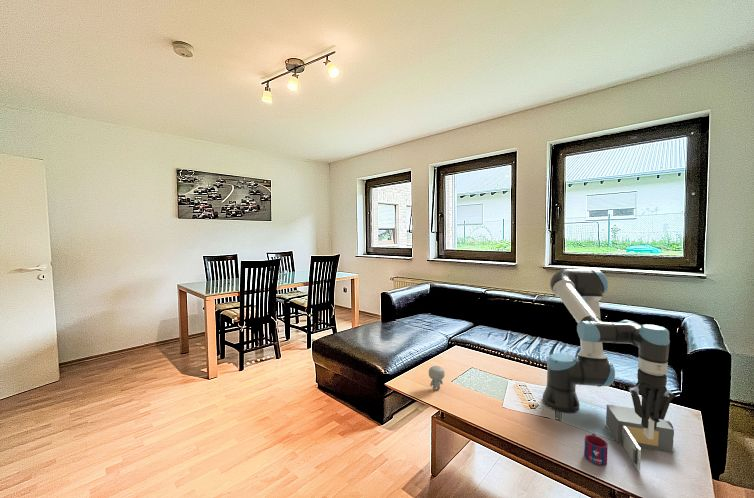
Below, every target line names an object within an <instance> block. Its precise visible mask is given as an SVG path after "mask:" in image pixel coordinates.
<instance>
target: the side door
mask: <svg viewBox="0 0 754 498" xmlns="http://www.w3.org/2000/svg"><path fill="white" fill-rule="evenodd" d="M621 445H622V446H623V448H624V450H625V451H626V454H627V456H629V458H630V461H631V462H632V464H633V465H634V466H635V468H636V470H637V471H641V459H642V458H641V456H642V455H641V453H642V448H641V447H639V445H638V444H637V442H636V441H635V439H634V438H633V436H632V435H631V433H630V432H629V430H628V429H627V427H626V426H625V425H622V444H621Z"/></svg>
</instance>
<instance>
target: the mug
mask: <svg viewBox="0 0 754 498" xmlns="http://www.w3.org/2000/svg"><path fill="white" fill-rule="evenodd" d="M608 447H609V444H608V442H607V441H606V440H605V439H604V438H602V437H600V436H597V435H596V433H591V434H588V435H585V436H584V449H583V450H584V452H583V453H584V454H583V455H584V456H583V457H584V458H585V460H587V461H588V462H589V463H590V464H592V465H595V466H598V467H599V466H600V467H605V466H606V465H608Z"/></svg>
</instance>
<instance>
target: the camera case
mask: <svg viewBox="0 0 754 498" xmlns="http://www.w3.org/2000/svg"><path fill="white" fill-rule="evenodd" d="M605 416H606V418H605V419H606V421H605V425H606V427H607V429H608V430H609V432H610V433H611V435H612V436H613V439H614V440H615V442H616V444H620V445H622V425H625V426H626V427H627V429H628V430H629V432H630V433H631V435H632V436H633V438H634V439H635V441H636V442H637V444H638V445H639V447H640V448H641V449H642V448H643V449H646V450H647V449H648V450H653V451H659V452H665V453H669V454H673V452H674V436H675V429H674V426H673V424H672V423H671V422H670V420H665V418H664V419H663V420H661V419H659V421H660V422H657V428H656V429H654V437H653V439H648V438H647V437H646V436H645V435H644V434H643V430H644V427H643V426H642V424H641V423H642V418H640V417H639V416H638V415H637V414H636V413H635V409H634V407H627V406H622V405H621V406H620V405H613V404H606V415H605Z"/></svg>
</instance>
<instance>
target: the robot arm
mask: <svg viewBox="0 0 754 498" xmlns="http://www.w3.org/2000/svg"><path fill="white" fill-rule="evenodd" d="M549 285H550V286H549V287H550V289H551V291H552V293H553V295H554V296H555V297H558V298H560V300H561V302H562V303H563V304H564V306H565V307H566V309H567V310H568V312H569V313H570V314H571V316H572V317H573V319H575V322H576V323H577V325H576V332H577V334H578V337H579V339H580V340H579V342H580V351H579V352H578V353H577V358H576V357H575V356H574V355H573V354H570V353H566V352H565V353H564V352H557V353H553V354H551V355H549V356H548V358H547V364H546V367H547V369H546V370H547V371H546V372H547V373H546V377H547V378H546V387H545V389H544V391H543V393H542V402H543V404H544V405H545V406H547V408H550V409H552V410H554V411H557V412H560V413H565V414H566V413H567V414H573V413H577V412H579V411H580V401H579V399H578V398H579V397H578V395H577V392H576V388H577V387H576V386H577V385H578V386H589V387H591V386H593V387H597V388H598V387H600V388H601V387H610V386H611V385H612V384H613V383H614V381H615V378H616V370H615V367H614V364H613V363H612V361H610V360H608V356H607V355H606V354H605V353H604V349H603V348H604V347H603V346H604V345H603V343H607V344H608V343H611V344H630V345H633V346H635V347H637V348H638V357H637V358H638V360H637V377H636V378H637V382H636V384H635V386H633V387H631V386H629V387H627V389H628V391H629V392H630V395H631V400H632V403H633V408H634V409H635V413H636V414H637V415H638V416H639V417H640V418H642V423H641V424H642V426H643V427H644V430H643V434H644V435H645V436H646V437H647V438H648V439H653V437H654V429H656V428H657V422H660V421H659V419H661V420H663V419H664V420H665V418H666V415H667V413H668V409H669V407H670V404H671V401H672V400H673V399H674V398H675V397H676V395H675V394H674V393H672V392H671V391H670V390H668V389H667V387H666V386H667V382H668V376H667V374H668V363H669V362H668V361H669V353H670V343H671V340H670V331H669V330H668V329H667V328H665V327H664V326H660V325H657V324H656V325H655V324H647V323H646V324H640V323H638V322H635V321H633V320H628V319H623V320H620V321H617V322H614V321H609V322H608V321H602V320H601V310H600V308H601V305H600V300H601V299H602V298H603V295H604V294H606V293H607V292H608V288H609V284H608V279H607V277H606V275H605V274H604V272H602V271H601V270H600V269H597V268H596V269H595V268H563V269H560V270H558V271H556V272H555V273H554V274H553V275H552V277H551V279H550V282H549ZM640 397H641V399H640Z"/></svg>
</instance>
